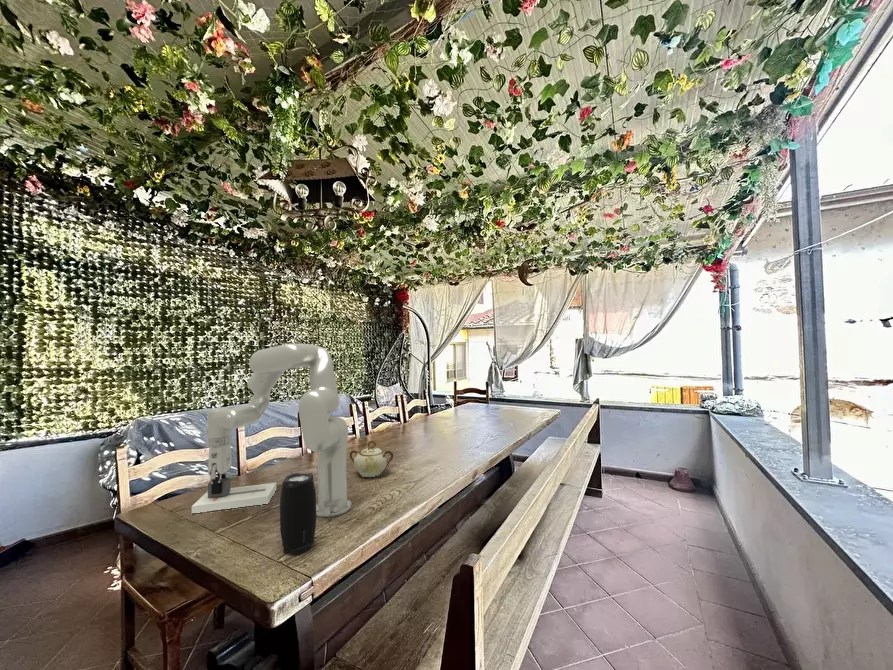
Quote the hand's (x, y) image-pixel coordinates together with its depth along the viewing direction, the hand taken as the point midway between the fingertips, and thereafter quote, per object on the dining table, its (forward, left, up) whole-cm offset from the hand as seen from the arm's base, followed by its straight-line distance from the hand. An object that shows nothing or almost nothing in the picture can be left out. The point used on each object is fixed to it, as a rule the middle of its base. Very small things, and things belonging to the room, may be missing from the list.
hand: (219, 490), depth 125 cm
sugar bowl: (+11, -56, -5) cm, 57 cm away
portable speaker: (-41, -33, -5) cm, 53 cm away
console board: (0, -6, -5) cm, 8 cm away
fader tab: (0, 0, -1) cm, 1 cm away
